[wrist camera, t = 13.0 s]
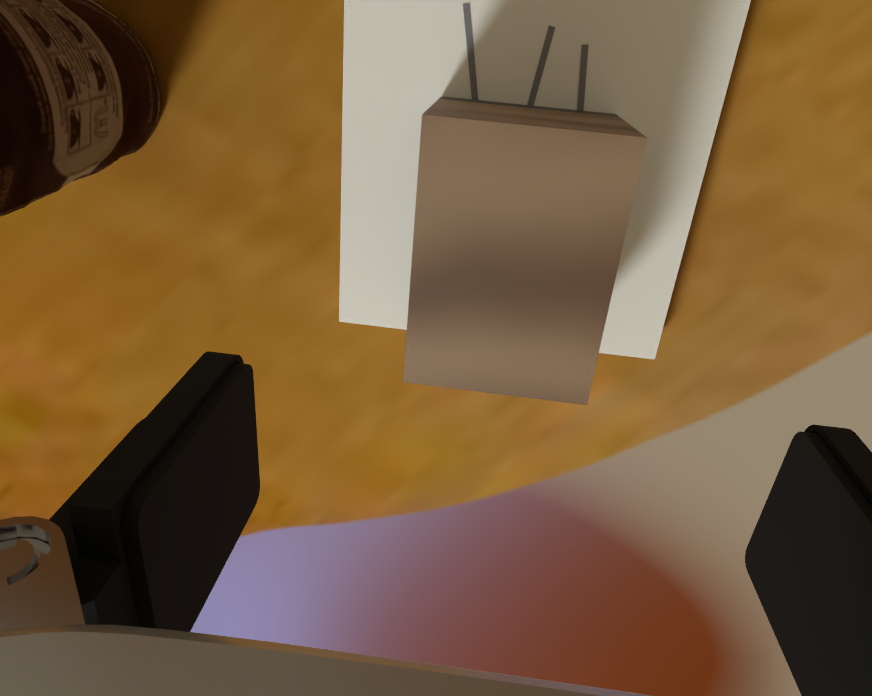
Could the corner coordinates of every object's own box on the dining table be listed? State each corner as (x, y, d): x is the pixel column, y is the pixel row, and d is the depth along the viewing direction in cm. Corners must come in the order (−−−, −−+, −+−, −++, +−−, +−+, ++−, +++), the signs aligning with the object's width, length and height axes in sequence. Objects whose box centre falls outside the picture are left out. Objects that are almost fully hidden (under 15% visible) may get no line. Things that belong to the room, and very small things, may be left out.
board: (359, -251, 21) (348, -271, 19) (794, -221, 20) (815, -239, 19) (346, 308, 30) (338, 321, 28) (647, 344, 29) (654, 359, 28)
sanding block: (441, 96, 24) (421, 114, 18) (615, 113, 23) (647, 137, 18) (423, 314, 28) (403, 382, 22) (571, 332, 27) (586, 404, 22)
